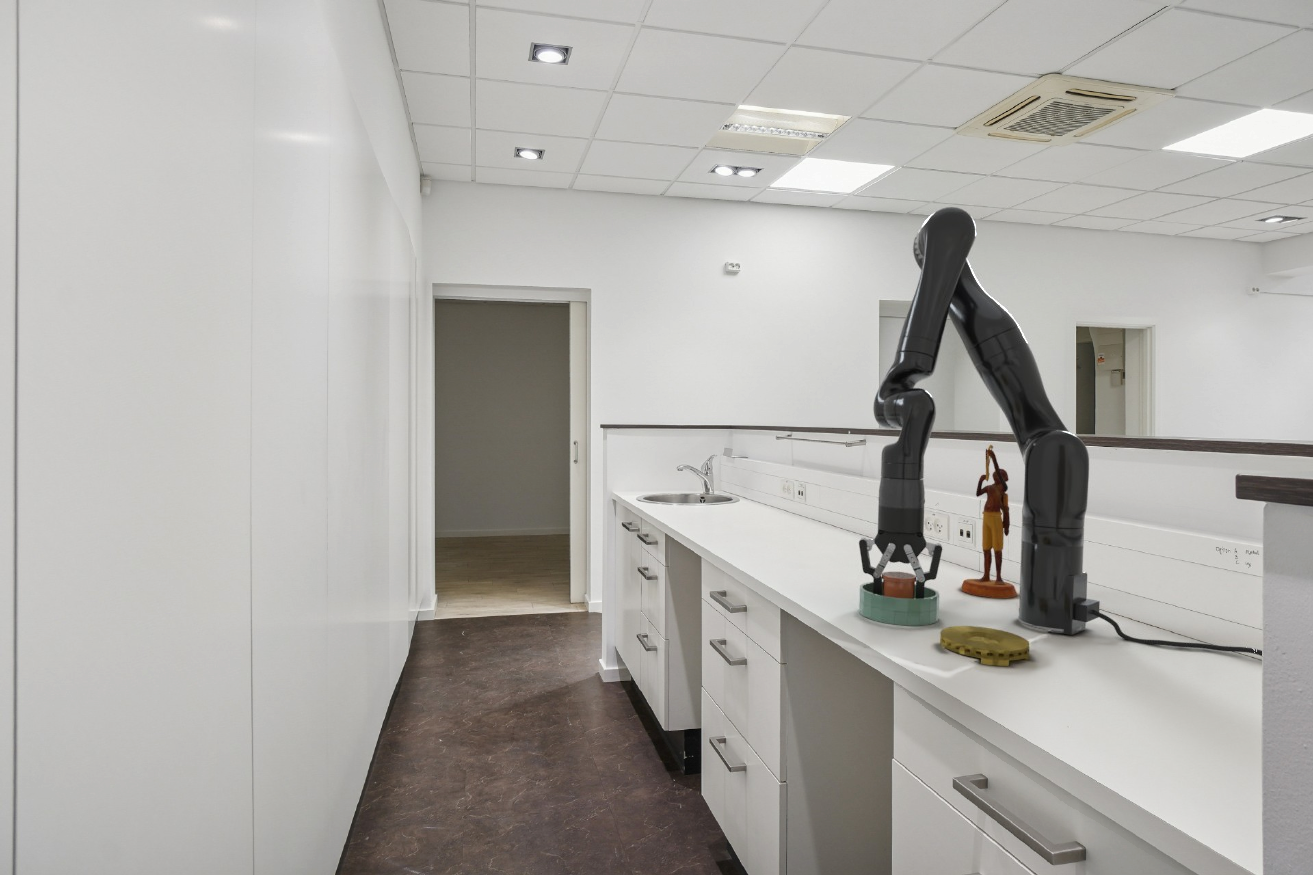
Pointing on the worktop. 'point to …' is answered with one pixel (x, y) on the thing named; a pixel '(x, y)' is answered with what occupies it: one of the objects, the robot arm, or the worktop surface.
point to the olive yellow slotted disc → (985, 644)
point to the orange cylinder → (898, 584)
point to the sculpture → (992, 533)
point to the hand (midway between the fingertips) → (898, 600)
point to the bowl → (899, 607)
